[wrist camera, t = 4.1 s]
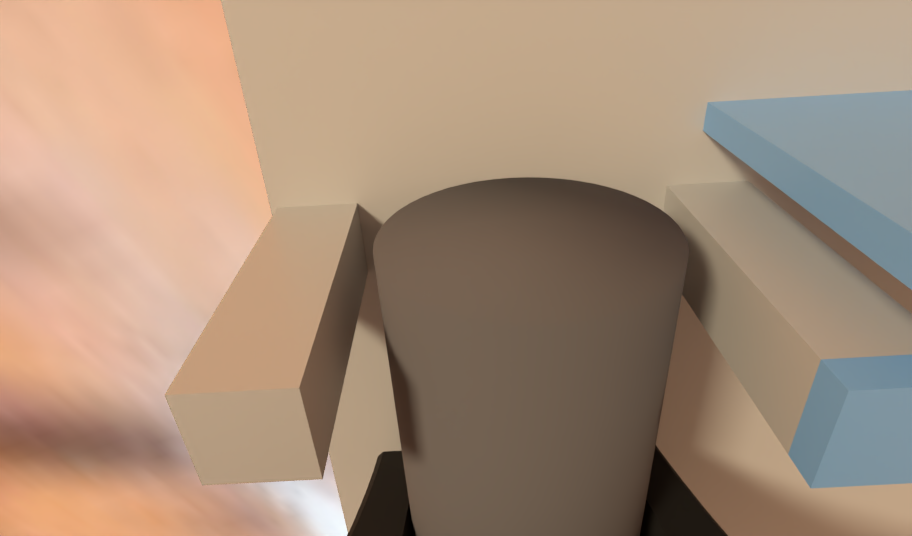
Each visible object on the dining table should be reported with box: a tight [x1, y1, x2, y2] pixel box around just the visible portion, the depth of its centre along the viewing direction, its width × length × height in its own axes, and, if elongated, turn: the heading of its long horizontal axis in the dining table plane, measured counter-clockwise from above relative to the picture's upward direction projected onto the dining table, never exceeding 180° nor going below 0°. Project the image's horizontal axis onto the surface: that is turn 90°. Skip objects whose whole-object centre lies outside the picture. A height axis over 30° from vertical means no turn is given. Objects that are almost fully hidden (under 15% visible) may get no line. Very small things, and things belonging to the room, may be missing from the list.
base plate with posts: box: [165, 0, 912, 536], centre depth 9 cm, size 16×13×6 cm
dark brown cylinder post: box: [373, 177, 689, 536], centre depth 9 cm, size 10×4×4 cm, turn 3°
